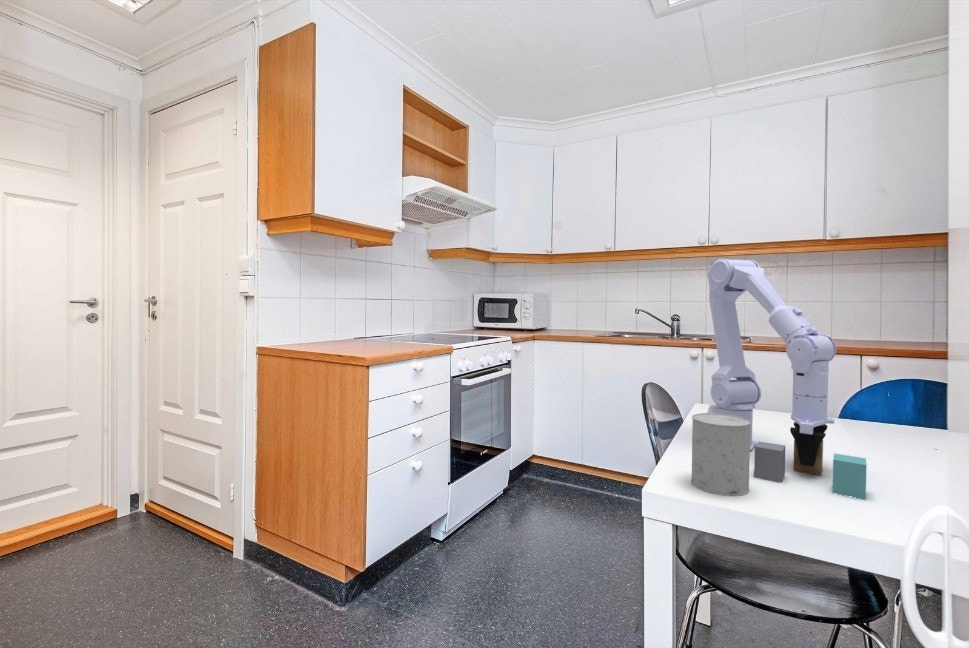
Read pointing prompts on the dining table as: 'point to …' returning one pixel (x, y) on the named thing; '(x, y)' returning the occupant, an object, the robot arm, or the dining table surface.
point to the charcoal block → (769, 461)
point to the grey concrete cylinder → (721, 453)
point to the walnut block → (808, 469)
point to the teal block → (849, 476)
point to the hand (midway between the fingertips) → (808, 462)
